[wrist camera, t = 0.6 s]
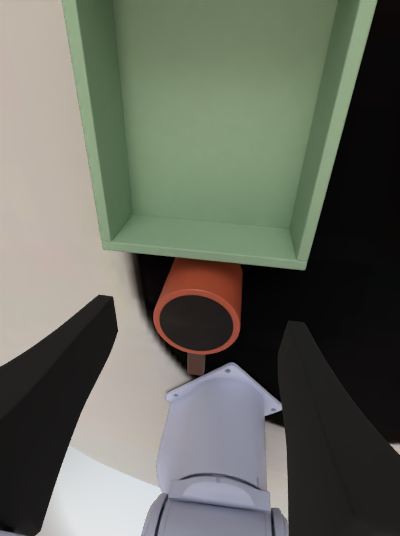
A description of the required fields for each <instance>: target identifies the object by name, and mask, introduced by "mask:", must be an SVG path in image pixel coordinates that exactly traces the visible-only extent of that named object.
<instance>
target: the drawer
mask: <svg viewBox="0 0 400 536" xmlns="http://www.w3.org/2000/svg"><path fill="white" fill-rule="evenodd" d="M376 4H377V0H62V5H63V11H64V17H65V23H66V29H67V35H68V41H69V47H70V53H71V59H72V65H73V71H74V78H75V84H76V90H77V96H78V102H79V108H80V114H81V120H82V126H83V132H84V138H85V144H86V150H87V156H88V162H89V168H90V174H91V180H92V186H93V193H94V199H95V205H96V211H97V217H98V223H99V229H100V235H101V240H102V246H103V249H104V250H112V251H122V252H132V253H141V254H151V255H161V256H171V257H180V258H190V259H200V260H210V261H219V262H229V263H239V264H248V265H258V266H268V267H278V268H287V269H297V270H305V269H306V265H307V260H308V258H309V254H310V250H311V246H312V243H313V239H314V235H315V231H316V228H317V224H318V220H319V217H320V213H321V209H322V205H323V202H324V198H325V194H326V190H327V187H328V183H329V179H330V175H331V172H332V168H333V164H334V161H335V157H336V153H337V149H338V146H339V142H340V138H341V134H342V131H343V127H344V123H345V119H346V116H347V112H348V108H349V104H350V101H351V97H352V93H353V90H354V86H355V82H356V78H357V75H358V71H359V67H360V63H361V60H362V56H363V52H364V48H365V45H366V41H367V37H368V34H369V30H370V26H371V22H372V19H373V15H374V11H375V7H376Z"/></svg>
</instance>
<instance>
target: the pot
mask: <svg viewBox="0 0 400 536" xmlns="http://www.w3.org/2000/svg"><path fill="white" fill-rule="evenodd" d="M242 277H243V273H242V268H241V265H240V264H239V263H229V262H219V261H210V260H200V259H190V258H180V257H176V258H175V260H174V262H173V265H172V267H171V270H170V272H169V275H168V277H167V280H166V282H165V285H164V287H163V290H162V292H161V295H160V297H159V300H158V302H157V305H156V307H155V310H154V317H153V319H154V324H155V327H156V329H157V331H158V333H159V334H160V336H161V337H162V338H163V339H164V340H165V341H166V342H168V343H169V344H170V345H172V346H174V347H175V348H177V349H179V350H182V351H185V352H188V372H187V373H188V374H194V375H201V376H203V375H204V369H205V354H212V353H216V352H220V351H222V350H224V349H226V348H228V347H229V346H230V345H232V344H233V342H234V341H235V340H236V338H237V337H238V335H239V331H240V320H241V299H242Z"/></svg>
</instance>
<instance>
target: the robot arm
mask: <svg viewBox="0 0 400 536" xmlns="http://www.w3.org/2000/svg"><path fill="white" fill-rule="evenodd" d="M117 332H118V327H117V320H116V313H115V307H114V300H113V297H112V296H105V295H98V296H97V297H95V298H94V299H93V300H92V301H91V302H89V303H88V304H87V305H86V306H85V307H83V308H82V309H81V310H80V311H79V312H77V313H76V314H75V315H74V316H73V317H71V318H70V319H69V320H68V321H66V322H65V323H64V324H63V325H61V326H60V327H59V328H58V329H56V330H55V331H54V332H52V333H51V334H50V335H48V336H47V337H45V338H44V339H43V340H41V341H40V342H39V343H37V344H36V345H34V346H33V347H31V348H30V349H29V350H27V351H26V352H24V353H22V354H21V355H19V356H18V357H16V358H14V359H13V360H11V361H10V362H8V363H6V364H4V365H3V366H1V367H0V536H35V535H36V534H38V533H39V532H40V531H41V528H42V524H43V521H44V518H45V515H46V511H47V508H48V505H49V502H50V499H51V495H52V492H53V489H54V486H55V483H56V480H57V477H58V474H59V471H60V468H61V465H62V462H63V459H64V457H65V454H66V451H67V448H68V446H69V443H70V440H71V437H72V435H73V432H74V430H75V427H76V424H77V422H78V419H79V417H80V414H81V412H82V409H83V407H84V405H85V403H86V401H87V399H88V397H89V395H90V393H91V391H92V389H93V387H94V385H95V383H96V381H97V379H98V377H99V375H100V373H101V371H102V369H103V367H104V365H105V363H106V361H107V359H108V357H109V355H110V352H111V350H112V347H113V344H114V341H115V338H116V335H117ZM278 381H279V389H280V397H281V403H280V402H279V401H278V400H277V399H276V398H274V397H273V396H272V395H271V394H270V393H269V392H268V391H266V390H265V389H264V388H263V387H262V386H261V385H260V384H259V383H257V382H256V381H255V380H254V379H253V378H252V377H251V376H249V375H248V374H247V373H246V372H245V371H244V370H243V369H241V368H240V367H239V366H238V365H237V364H235V363H233V362H230V363H228V364H226V365H224V366H221V367H219V368H217V369H215V370H213V371H211V372H209V373H207V374H205V375H203V376H201V377H199V378H197V379H195V380H193V381H191V382H189V383H186V384H184V385H182V386H180V387H178V388H176V389H174V390H172V391H170V392H168V393H166V395H165V399H166V400H167V401H169V402H170V406H169V410H168V415H167V419H166V423H165V427H164V431H163V435H162V439H161V443H160V448H159V452H158V456H157V465H156V468H157V478H158V483H159V486H160V489H161V491H162V494H160V495H159V497H158V498H157V499H156V500H155V501H154V502H153V504H152V505H151V507H150V509H149V511H148V514H147V517H146V520H145V523H144V527H143V531H142V535H141V536H400V455H399V454H398V453H397V452H396V451H395V450H394V449H393V448H392V446H391V445H390V444H389V443H388V442H387V441H386V440H385V439H384V438H383V437H382V436H381V435H380V433H379V432H378V431H377V430H376V429H375V428H374V426H373V425H372V424H371V423H370V422H369V420H368V419H367V418H366V417H365V416H364V414H363V413H362V412H361V411H360V409H359V408H358V407H357V405H356V404H355V403H354V402H353V400H352V399H351V397H350V396H349V395H348V393H347V392H346V390H345V389H344V388H343V386H342V385H341V383H340V382H339V380H338V379H337V377H336V376H335V374H334V373H333V371H332V370H331V368H330V366H329V365H328V363H327V362H326V360H325V358H324V357H323V355H322V353H321V352H320V350H319V348H318V346H317V345H316V343H315V341H314V339H313V337H312V336H311V334H310V332H309V330H308V328H307V326H306V324H305V323H303V322H296V321H288V323H287V327H286V330H285V333H284V336H283V339H282V342H281V346H280V349H279V352H278ZM280 410H282V412H283V419H284V427H285V434H286V445H287V470H288V522H289V526H288V522H287V520H286V518H285V517H284V516H283V514H281V511H280V509H279V508H271V514H270V493H269V492H268V491H267V474H266V446H265V417H264V416H267V415H269V414H272V413H275V412H278V411H280Z"/></svg>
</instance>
